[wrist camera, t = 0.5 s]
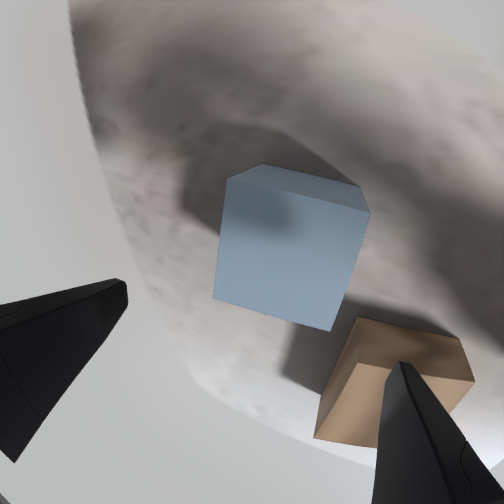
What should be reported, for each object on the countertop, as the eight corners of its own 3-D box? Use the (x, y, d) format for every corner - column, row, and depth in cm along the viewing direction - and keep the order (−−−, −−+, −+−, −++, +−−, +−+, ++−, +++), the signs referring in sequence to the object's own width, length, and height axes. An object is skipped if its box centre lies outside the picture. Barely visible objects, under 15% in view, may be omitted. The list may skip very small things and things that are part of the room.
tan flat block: (458, 337, 18) (475, 382, 13) (408, 408, 22) (412, 451, 17) (356, 314, 20) (357, 362, 15) (321, 392, 23) (313, 438, 19)
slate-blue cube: (360, 186, 16) (370, 213, 11) (334, 275, 19) (330, 331, 14) (262, 163, 17) (227, 178, 12) (247, 252, 20) (212, 298, 15)
